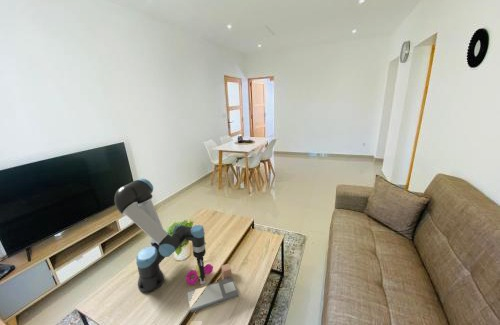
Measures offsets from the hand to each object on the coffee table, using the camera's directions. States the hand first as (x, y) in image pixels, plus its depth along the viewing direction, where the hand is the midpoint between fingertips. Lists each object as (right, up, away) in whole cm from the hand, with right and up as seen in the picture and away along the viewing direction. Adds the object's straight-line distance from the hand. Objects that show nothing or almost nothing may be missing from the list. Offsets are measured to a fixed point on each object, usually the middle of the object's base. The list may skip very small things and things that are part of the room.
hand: (201, 275), depth 138 cm
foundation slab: (+10, -6, -10) cm, 15 cm away
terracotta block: (+16, -1, +3) cm, 16 cm away
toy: (-1, -2, 0) cm, 2 cm away
